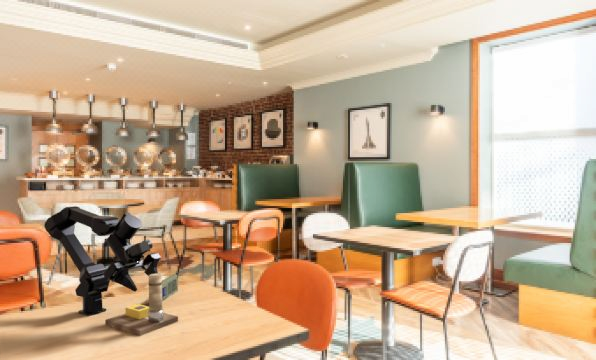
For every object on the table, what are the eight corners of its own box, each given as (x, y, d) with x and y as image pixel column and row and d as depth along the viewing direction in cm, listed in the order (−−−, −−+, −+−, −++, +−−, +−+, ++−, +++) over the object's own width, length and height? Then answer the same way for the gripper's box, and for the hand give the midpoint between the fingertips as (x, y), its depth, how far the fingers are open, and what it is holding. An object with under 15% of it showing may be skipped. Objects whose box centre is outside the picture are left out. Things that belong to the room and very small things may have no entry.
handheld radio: (179, 291, 171) (148, 311, 146) (171, 291, 171) (139, 311, 147) (178, 274, 171) (147, 292, 146) (170, 274, 171) (138, 292, 147)
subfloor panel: (105, 324, 133) (105, 319, 133) (143, 311, 145) (143, 307, 145) (140, 335, 124) (140, 330, 124) (177, 321, 136) (177, 316, 136)
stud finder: (125, 315, 137) (125, 307, 137) (137, 311, 141) (137, 303, 141) (139, 319, 133) (139, 310, 133) (151, 315, 137) (151, 306, 137)
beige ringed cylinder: (145, 322, 130) (145, 276, 130) (152, 317, 135) (151, 273, 134) (159, 322, 130) (159, 276, 130) (165, 317, 134) (164, 273, 134)
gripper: (110, 236, 127) (137, 277, 123) (157, 228, 144) (182, 264, 139) (92, 260, 131) (118, 301, 126) (140, 249, 148) (164, 285, 143)
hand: (147, 287), depth 134 cm, fingers open, 9 cm apart
